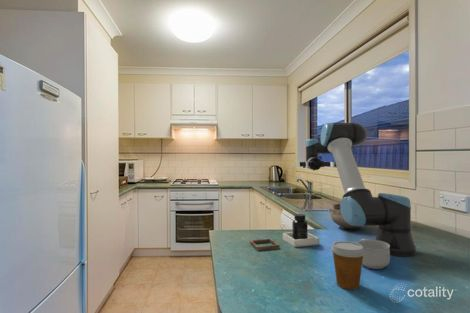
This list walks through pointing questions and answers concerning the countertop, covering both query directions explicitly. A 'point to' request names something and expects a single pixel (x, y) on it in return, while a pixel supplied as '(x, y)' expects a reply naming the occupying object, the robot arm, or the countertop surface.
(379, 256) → the teacup
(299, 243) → the cream tray
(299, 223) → the supplement bottle
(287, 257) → the countertop surface
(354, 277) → the disposable coffee cup
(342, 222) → the cooking pot
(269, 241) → the walnut collar
